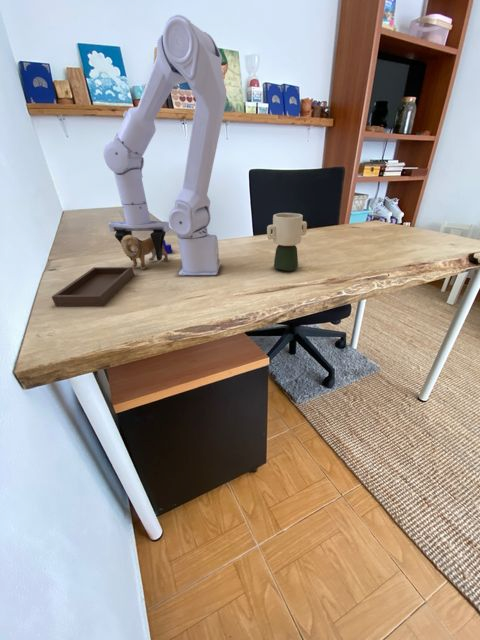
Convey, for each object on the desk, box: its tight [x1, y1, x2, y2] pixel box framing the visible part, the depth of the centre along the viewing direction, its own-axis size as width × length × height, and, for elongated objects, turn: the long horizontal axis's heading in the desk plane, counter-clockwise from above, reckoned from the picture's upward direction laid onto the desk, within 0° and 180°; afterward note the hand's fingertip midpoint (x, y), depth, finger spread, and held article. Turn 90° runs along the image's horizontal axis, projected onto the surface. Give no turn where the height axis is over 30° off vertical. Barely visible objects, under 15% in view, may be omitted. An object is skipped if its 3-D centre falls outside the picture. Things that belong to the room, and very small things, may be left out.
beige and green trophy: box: [266, 212, 308, 272], centre depth 73 cm, size 11×7×13 cm, turn 115°
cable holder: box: [162, 239, 173, 256], centre depth 90 cm, size 8×4×4 cm, turn 34°
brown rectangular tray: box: [51, 266, 135, 307], centre depth 66 cm, size 10×18×2 cm, turn 0°
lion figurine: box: [120, 234, 169, 270], centre depth 77 cm, size 15×5×9 cm, turn 159°
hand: (146, 259), depth 78 cm, fingers closed on lion figurine, 6 cm apart
